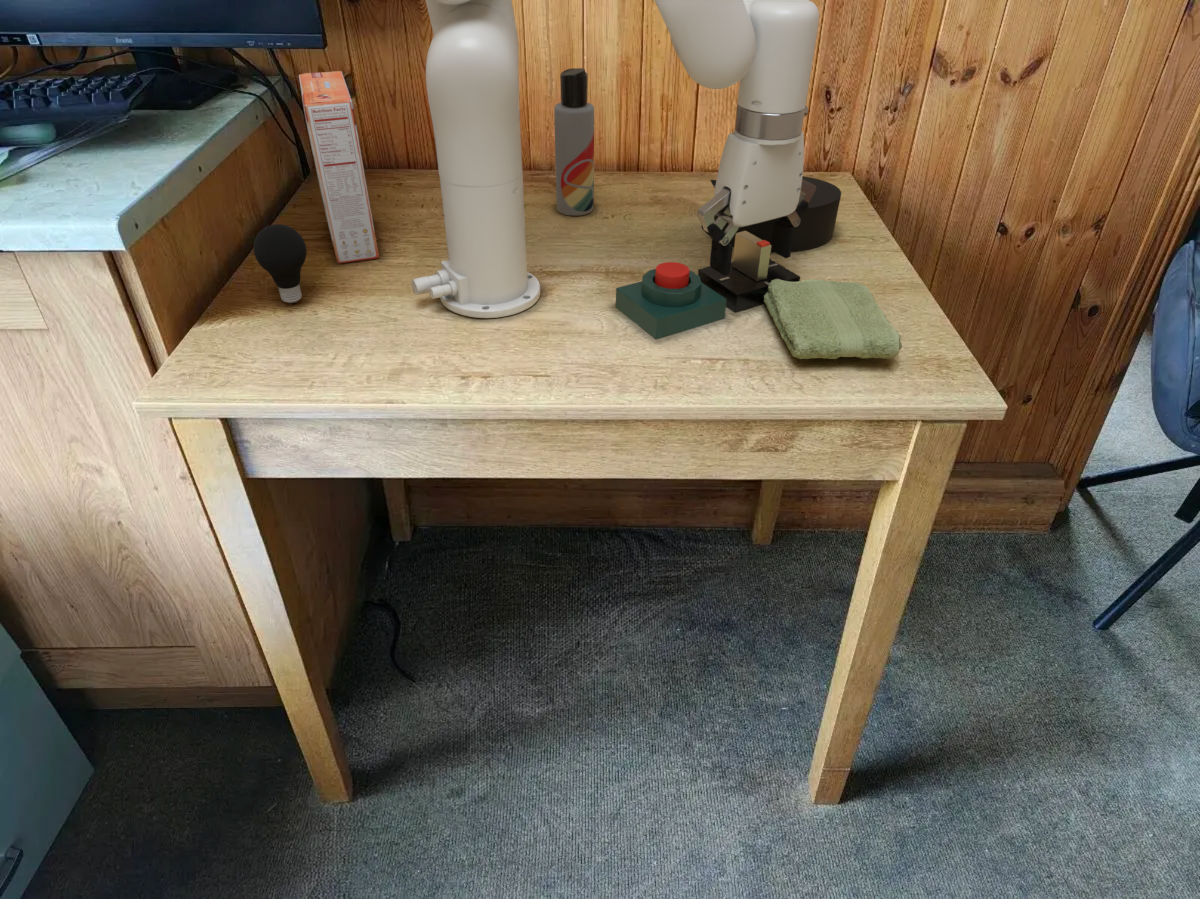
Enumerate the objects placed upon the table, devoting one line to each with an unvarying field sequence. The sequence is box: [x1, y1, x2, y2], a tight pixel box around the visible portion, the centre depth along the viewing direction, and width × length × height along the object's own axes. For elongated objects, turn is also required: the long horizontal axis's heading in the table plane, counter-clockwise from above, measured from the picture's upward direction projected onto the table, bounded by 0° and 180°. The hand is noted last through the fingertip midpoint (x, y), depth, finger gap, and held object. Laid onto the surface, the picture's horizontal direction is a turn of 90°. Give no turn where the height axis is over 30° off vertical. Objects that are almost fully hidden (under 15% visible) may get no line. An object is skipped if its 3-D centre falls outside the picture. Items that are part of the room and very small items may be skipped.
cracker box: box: [298, 70, 380, 264], centre depth 111 cm, size 14×6×21 cm, turn 18°
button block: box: [615, 268, 727, 340], centre depth 101 cm, size 10×9×4 cm
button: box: [655, 261, 690, 289], centre depth 99 cm, size 4×4×2 cm
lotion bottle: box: [553, 67, 595, 217], centre depth 122 cm, size 6×6×20 cm
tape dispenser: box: [709, 175, 842, 253], centre depth 120 cm, size 14×18×8 cm
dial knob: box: [732, 231, 772, 281], centre depth 104 cm, size 5×2×5 cm, turn 31°
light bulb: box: [253, 223, 308, 305], centre depth 100 cm, size 6×6×10 cm
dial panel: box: [697, 258, 801, 314], centre depth 107 cm, size 10×9×3 cm
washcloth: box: [764, 278, 903, 360], centre depth 98 cm, size 13×18×3 cm
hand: (750, 262), depth 105 cm, fingers open, 9 cm apart
